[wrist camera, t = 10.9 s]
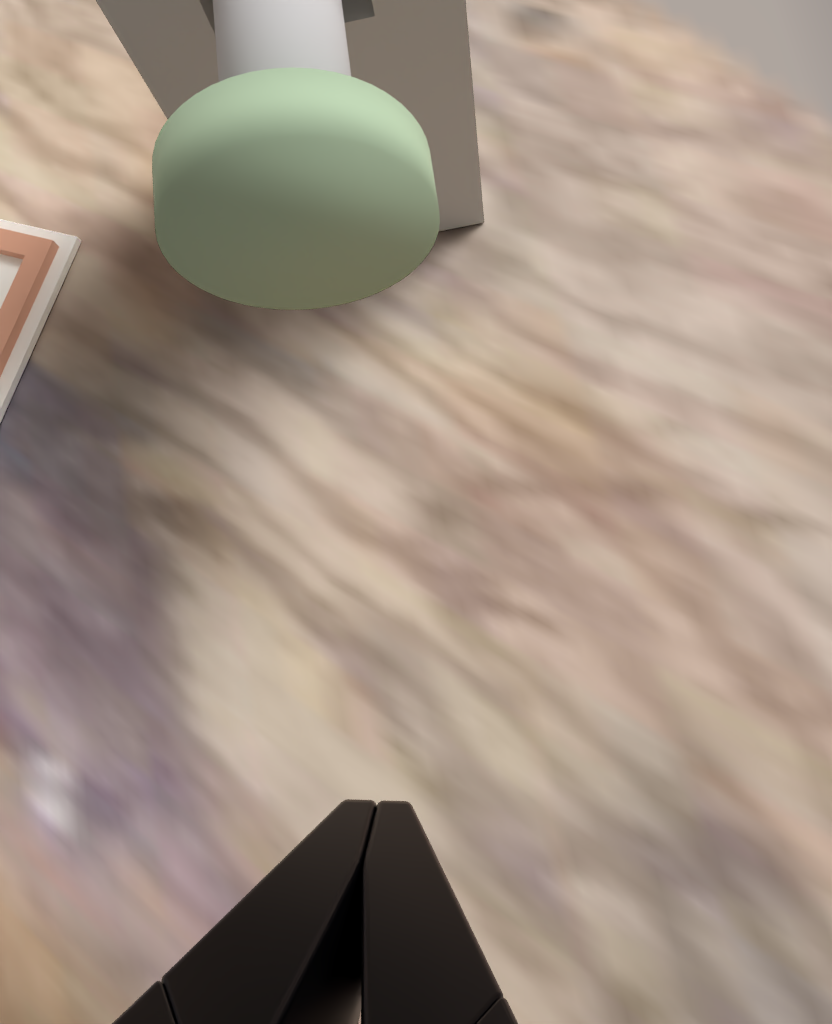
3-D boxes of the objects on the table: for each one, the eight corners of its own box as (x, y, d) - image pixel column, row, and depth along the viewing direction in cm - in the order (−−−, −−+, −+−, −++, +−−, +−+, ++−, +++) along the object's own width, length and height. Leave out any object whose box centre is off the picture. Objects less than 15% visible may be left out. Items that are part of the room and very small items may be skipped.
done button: (452, 284, 13) (421, 105, 9) (219, 327, 13) (96, 173, 10) (403, -28, 15) (360, -289, 11) (198, 18, 15) (87, -218, 11)
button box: (484, 222, 20) (442, -264, 10) (256, 266, 21) (3, -152, 11) (462, 93, 21) (405, -465, 11) (245, 139, 22) (6, -353, 12)
